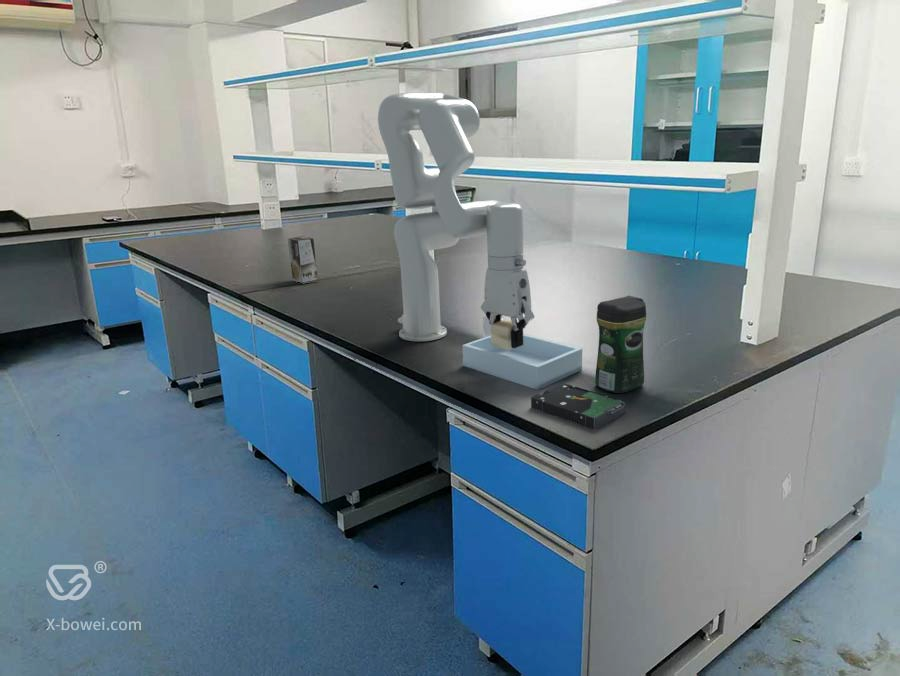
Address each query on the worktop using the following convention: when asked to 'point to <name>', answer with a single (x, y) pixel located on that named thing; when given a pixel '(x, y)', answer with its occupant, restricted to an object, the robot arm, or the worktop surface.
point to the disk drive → (578, 405)
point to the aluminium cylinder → (487, 327)
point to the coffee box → (302, 258)
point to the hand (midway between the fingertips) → (507, 343)
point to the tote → (524, 361)
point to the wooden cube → (501, 334)
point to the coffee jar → (620, 344)
